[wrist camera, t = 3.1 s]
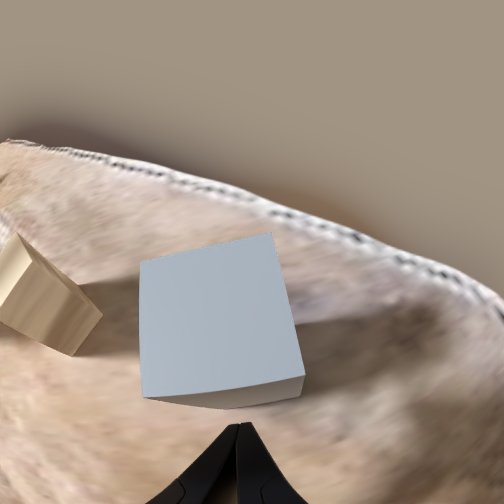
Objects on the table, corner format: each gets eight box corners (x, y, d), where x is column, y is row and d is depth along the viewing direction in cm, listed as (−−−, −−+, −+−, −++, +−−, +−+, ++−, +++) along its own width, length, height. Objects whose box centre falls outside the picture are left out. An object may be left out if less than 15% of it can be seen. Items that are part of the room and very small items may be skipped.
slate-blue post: (299, 396, 17) (305, 374, 8) (224, 409, 17) (142, 397, 8) (284, 326, 19) (271, 232, 10) (214, 340, 20) (140, 261, 10)
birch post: (103, 314, 22) (32, 261, 14) (71, 356, 20) (-7, 317, 13) (77, 285, 24) (16, 231, 16) (49, 323, 22) (-18, 279, 15)
